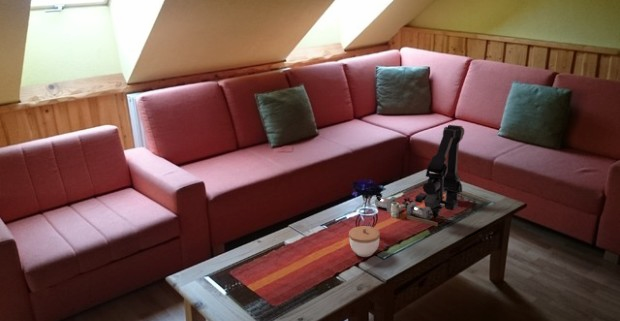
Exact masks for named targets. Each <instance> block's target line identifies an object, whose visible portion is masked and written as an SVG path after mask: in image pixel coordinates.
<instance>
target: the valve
mask: <svg viewBox="0 0 620 321" xmlns="http://www.w3.org/2000/svg"><path fill="white" fill-rule="evenodd" d="M410 199H411V198H410V197H405V198H403V201H402V204H400V203H399V202H397V201H396V202H393V203H391V213H390V216H391V218H395V219H397V218H398V217H400V212H401V211H403V209H405V210H407V205H409V204H410V203H411V202H414V201H413V200H410Z"/></svg>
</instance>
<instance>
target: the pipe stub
mask: <svg viewBox="0 0 620 321" xmlns="http://www.w3.org/2000/svg"><path fill="white" fill-rule="evenodd" d="M380 197H381V200H380V201H378V200H377V197H376V198H375V199H374V200H375V201H374V206H375V207H378V208H383V209H386V212H387V213H389V214H391V203H393V202H397V199H398V198H397V197H395V196H392V197H391V198H385V197H382V196H380Z"/></svg>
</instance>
